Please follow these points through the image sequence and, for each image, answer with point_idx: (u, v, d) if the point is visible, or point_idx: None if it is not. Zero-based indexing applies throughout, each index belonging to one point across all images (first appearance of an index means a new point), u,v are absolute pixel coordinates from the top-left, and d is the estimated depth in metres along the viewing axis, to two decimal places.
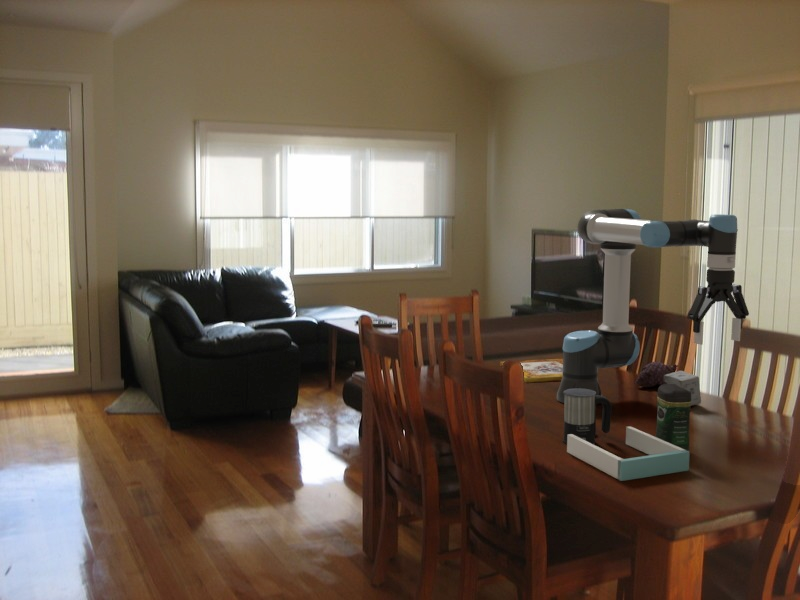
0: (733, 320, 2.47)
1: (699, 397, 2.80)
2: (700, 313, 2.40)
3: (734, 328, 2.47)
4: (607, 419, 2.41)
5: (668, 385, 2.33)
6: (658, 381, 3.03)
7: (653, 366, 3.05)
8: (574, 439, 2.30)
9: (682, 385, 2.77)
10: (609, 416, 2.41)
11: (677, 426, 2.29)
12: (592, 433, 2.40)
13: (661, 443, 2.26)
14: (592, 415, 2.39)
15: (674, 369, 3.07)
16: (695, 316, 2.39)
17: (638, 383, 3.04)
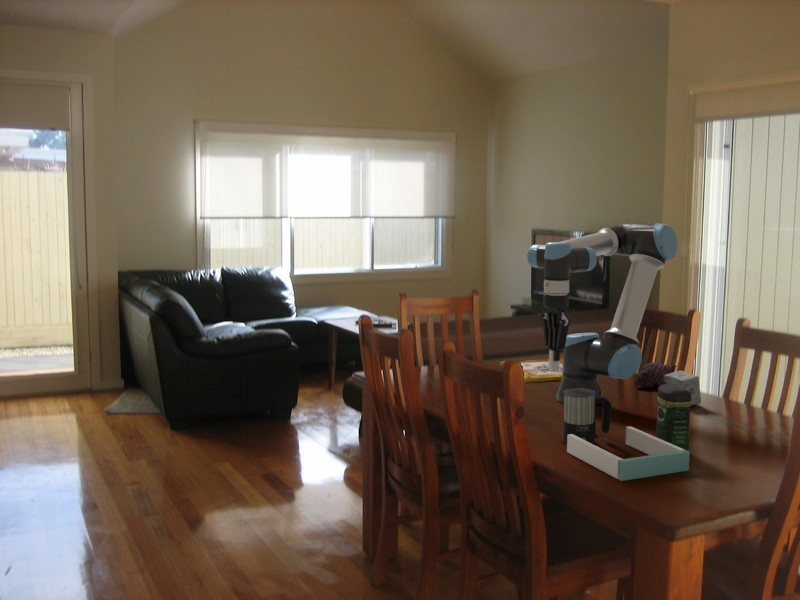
0: None
1: (699, 397, 2.80)
2: None
3: None
4: (607, 418, 2.41)
5: (668, 385, 2.33)
6: (656, 381, 3.02)
7: (651, 366, 3.04)
8: (574, 439, 2.30)
9: (682, 385, 2.77)
10: (609, 416, 2.41)
11: (677, 426, 2.29)
12: (592, 433, 2.40)
13: (661, 443, 2.26)
14: (592, 415, 2.39)
15: (673, 369, 3.06)
16: (545, 342, 2.58)
17: (636, 383, 3.04)
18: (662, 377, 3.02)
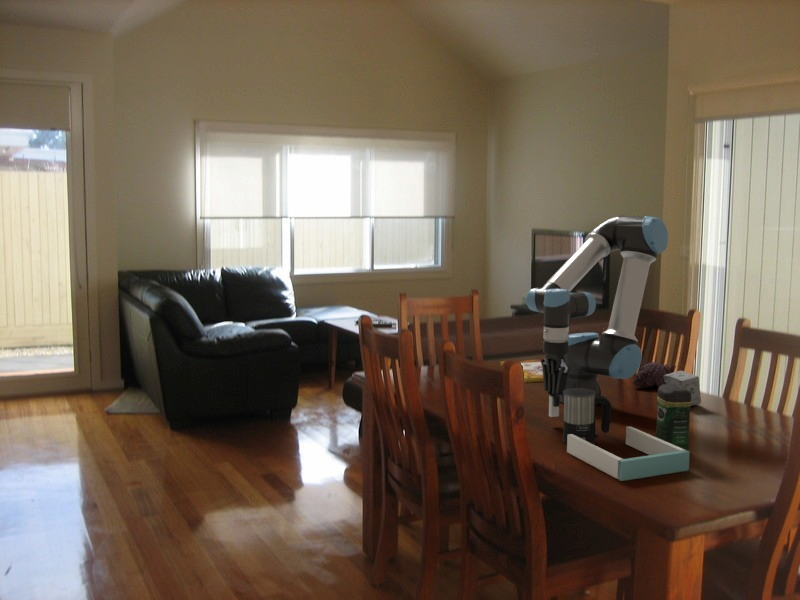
0: None
1: (699, 397, 2.80)
2: None
3: None
4: (607, 418, 2.41)
5: (668, 385, 2.33)
6: (655, 381, 3.02)
7: (650, 366, 3.04)
8: (574, 439, 2.30)
9: (682, 385, 2.77)
10: (609, 416, 2.41)
11: (677, 426, 2.29)
12: (592, 433, 2.40)
13: (661, 443, 2.26)
14: (592, 415, 2.39)
15: (672, 370, 3.06)
16: (545, 387, 2.60)
17: (635, 383, 3.04)
18: (661, 377, 3.02)
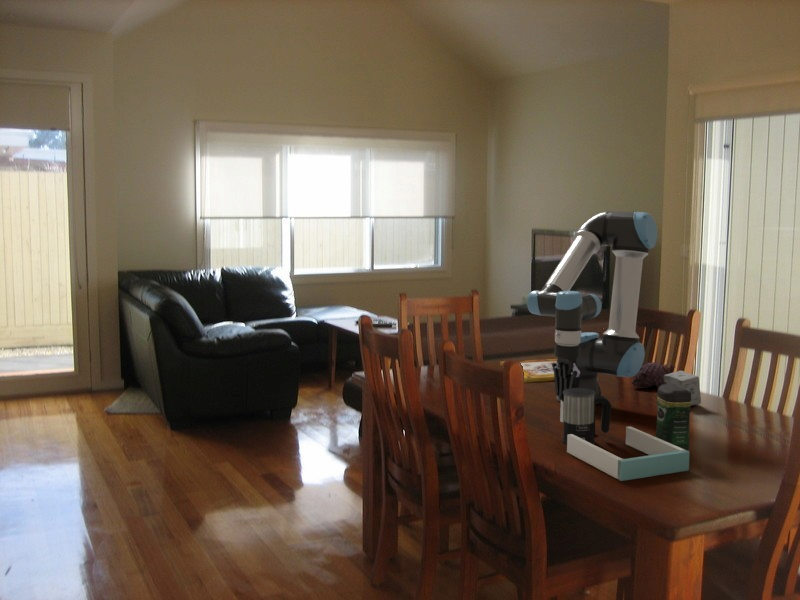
0: None
1: (699, 397, 2.80)
2: None
3: None
4: (606, 418, 2.41)
5: (668, 385, 2.33)
6: (654, 382, 3.02)
7: (650, 367, 3.04)
8: (574, 439, 2.30)
9: (682, 385, 2.77)
10: (608, 416, 2.41)
11: (677, 426, 2.29)
12: (591, 433, 2.40)
13: (661, 443, 2.26)
14: (591, 415, 2.39)
15: (671, 370, 3.05)
16: (556, 392, 2.54)
17: (634, 383, 3.03)
18: (660, 377, 3.02)
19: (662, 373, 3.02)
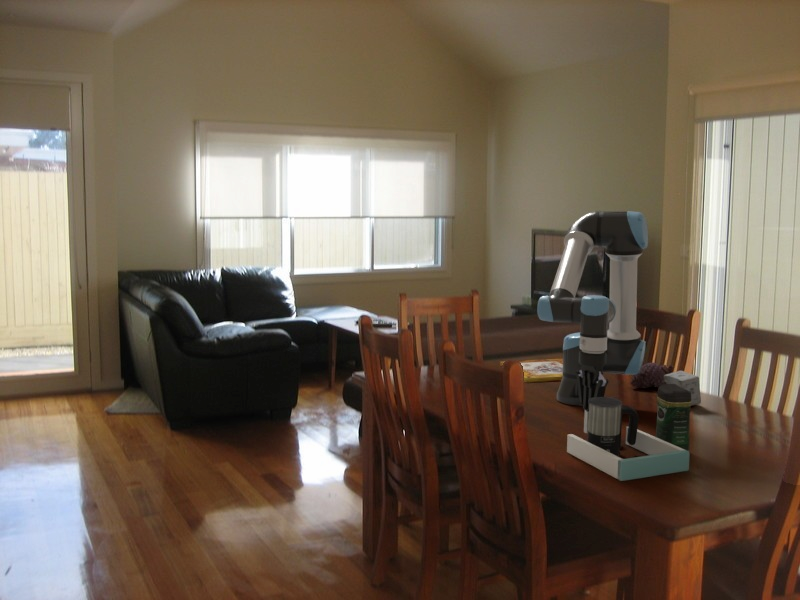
0: None
1: (699, 397, 2.80)
2: None
3: None
4: (633, 430, 2.30)
5: (668, 385, 2.33)
6: (653, 382, 3.02)
7: (648, 367, 3.04)
8: (574, 439, 2.30)
9: (682, 385, 2.77)
10: (635, 427, 2.30)
11: (677, 426, 2.29)
12: (617, 445, 2.29)
13: (661, 443, 2.26)
14: (617, 426, 2.28)
15: (670, 370, 3.05)
16: (580, 401, 2.42)
17: (633, 384, 3.03)
18: (659, 378, 3.01)
19: (661, 373, 3.02)
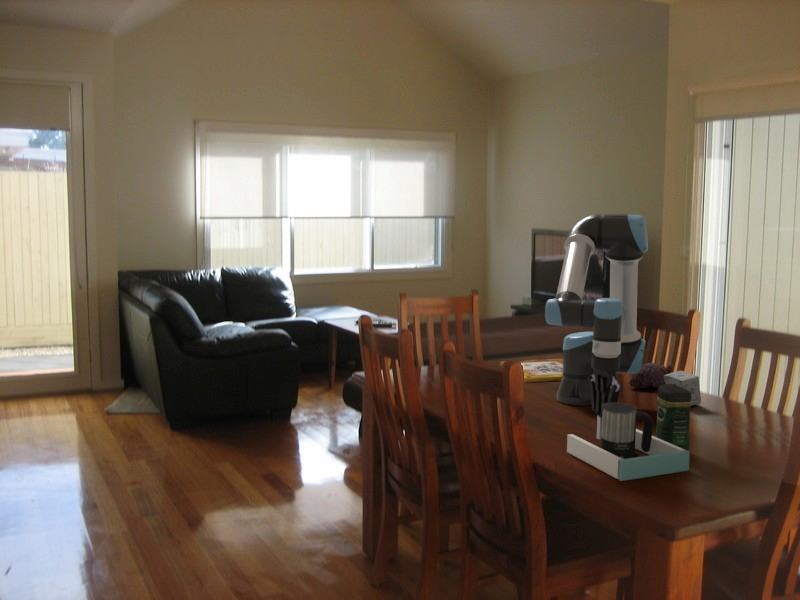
0: None
1: (699, 397, 2.80)
2: None
3: None
4: (648, 437, 2.24)
5: (668, 385, 2.33)
6: (651, 382, 3.01)
7: (647, 367, 3.03)
8: (574, 439, 2.30)
9: (682, 385, 2.77)
10: (650, 434, 2.24)
11: (677, 426, 2.29)
12: (631, 452, 2.23)
13: (661, 443, 2.26)
14: (632, 432, 2.22)
15: (669, 370, 3.05)
16: (593, 407, 2.36)
17: (631, 384, 3.03)
18: (657, 378, 3.01)
19: (659, 374, 3.01)
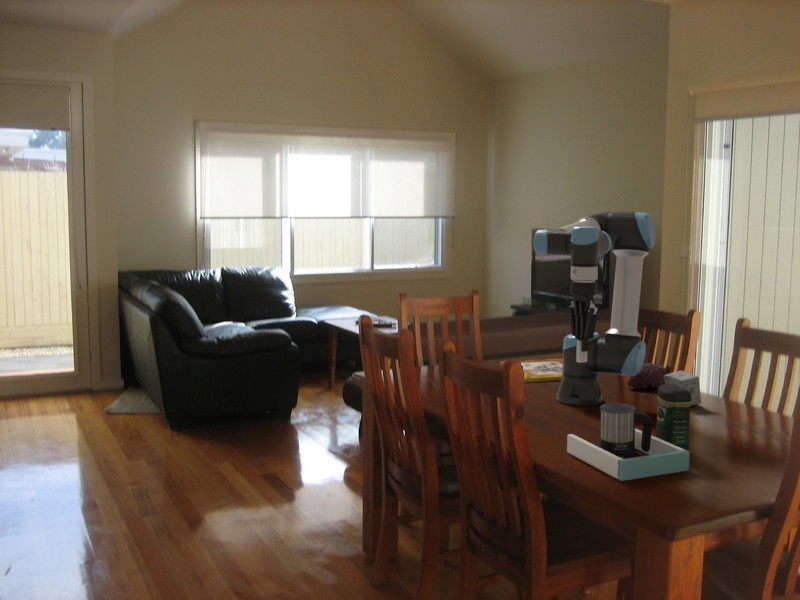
0: None
1: (699, 397, 2.80)
2: None
3: None
4: (647, 436, 2.24)
5: (668, 385, 2.33)
6: (650, 382, 3.01)
7: (645, 367, 3.03)
8: (574, 439, 2.30)
9: (682, 385, 2.77)
10: (649, 434, 2.24)
11: (677, 426, 2.29)
12: (631, 452, 2.23)
13: (661, 443, 2.26)
14: (631, 432, 2.22)
15: (668, 371, 3.04)
16: (572, 332, 2.46)
17: (630, 384, 3.03)
18: (656, 378, 3.01)
19: (658, 374, 3.01)
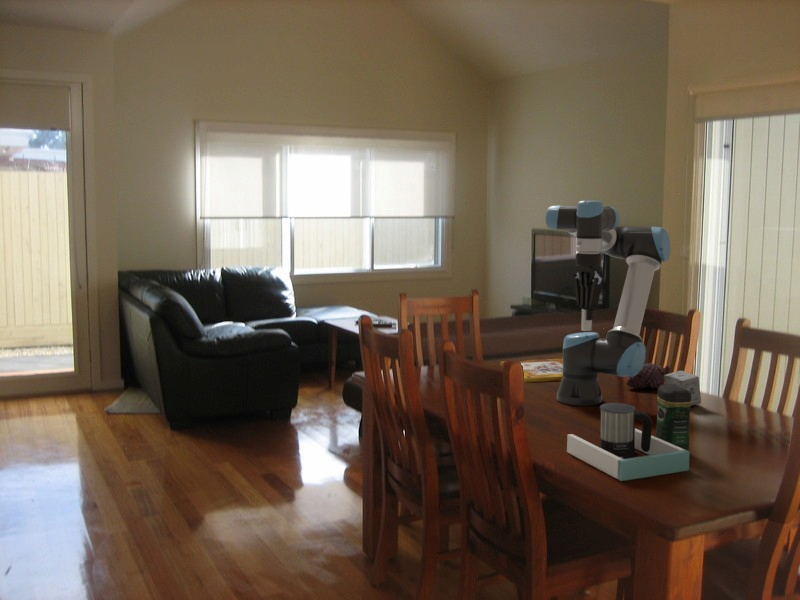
0: None
1: (699, 397, 2.80)
2: None
3: None
4: (647, 436, 2.25)
5: (668, 385, 2.33)
6: (649, 382, 3.01)
7: (644, 367, 3.03)
8: (574, 439, 2.30)
9: (682, 385, 2.77)
10: (649, 433, 2.25)
11: (677, 426, 2.29)
12: (630, 451, 2.23)
13: (661, 443, 2.26)
14: (630, 432, 2.22)
15: (667, 371, 3.04)
16: (577, 302, 2.57)
17: (628, 384, 3.03)
18: (655, 378, 3.00)
19: (657, 374, 3.01)
